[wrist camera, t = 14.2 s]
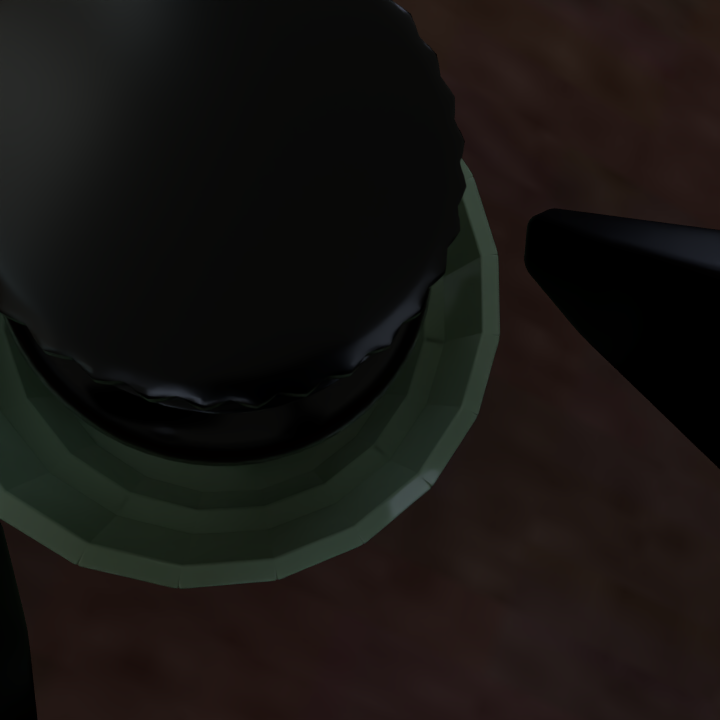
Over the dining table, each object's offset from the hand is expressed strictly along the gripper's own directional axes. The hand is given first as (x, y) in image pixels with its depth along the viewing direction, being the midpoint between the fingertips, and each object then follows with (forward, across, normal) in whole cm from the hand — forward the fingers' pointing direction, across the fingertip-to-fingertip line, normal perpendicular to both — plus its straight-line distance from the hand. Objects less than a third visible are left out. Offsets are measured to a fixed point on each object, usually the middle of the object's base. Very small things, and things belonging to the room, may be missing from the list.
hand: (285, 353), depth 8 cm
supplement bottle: (+8, 0, +5) cm, 9 cm away
